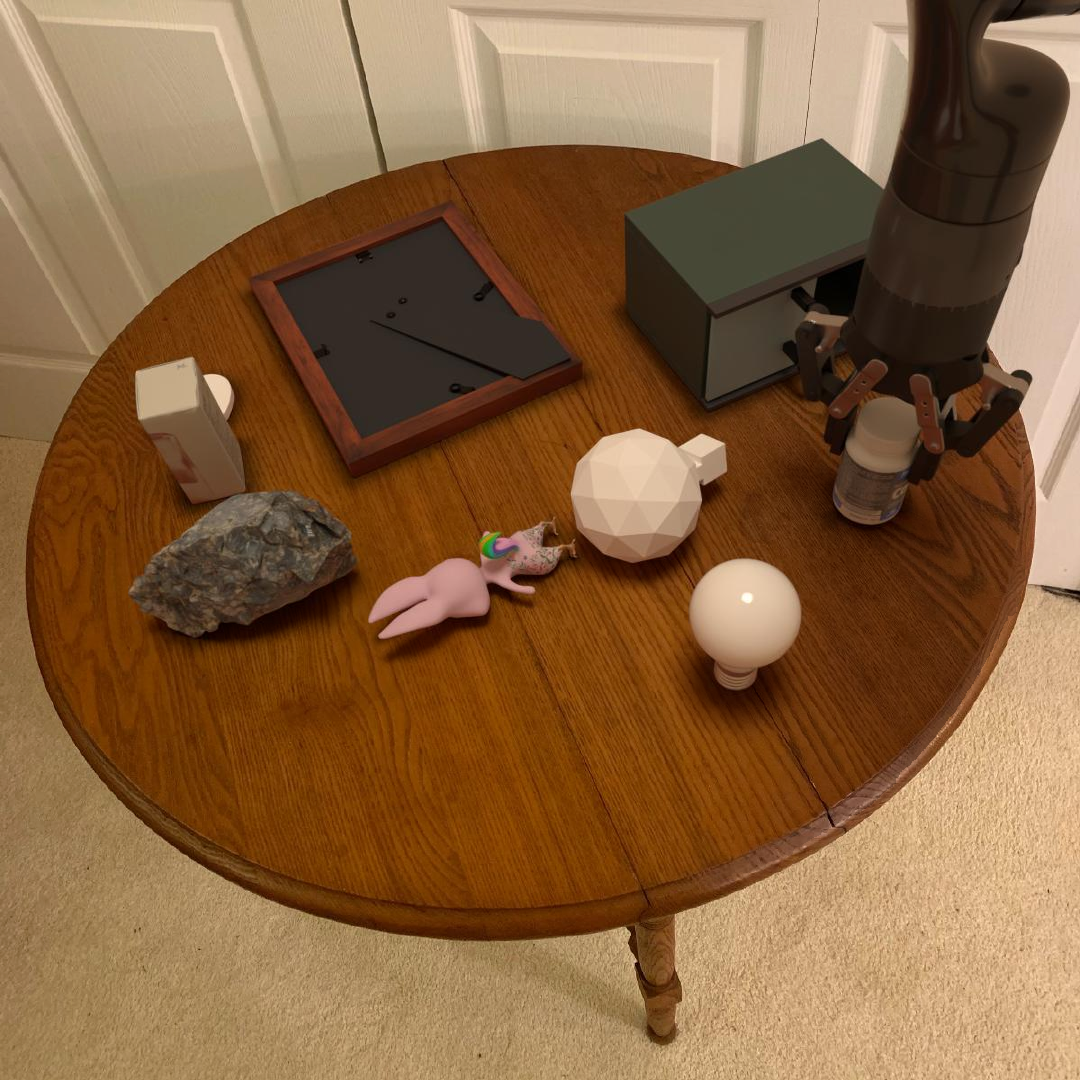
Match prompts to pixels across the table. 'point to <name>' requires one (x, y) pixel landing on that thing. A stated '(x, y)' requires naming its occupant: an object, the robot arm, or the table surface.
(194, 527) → the rock
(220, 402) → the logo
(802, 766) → the table surface
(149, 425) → the cream cardboard box
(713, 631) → the lightbulb
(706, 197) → the cabinet
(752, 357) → the door
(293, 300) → the picture frame
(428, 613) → the rabbit figure
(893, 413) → the pill bottle
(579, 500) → the perfume bottle
